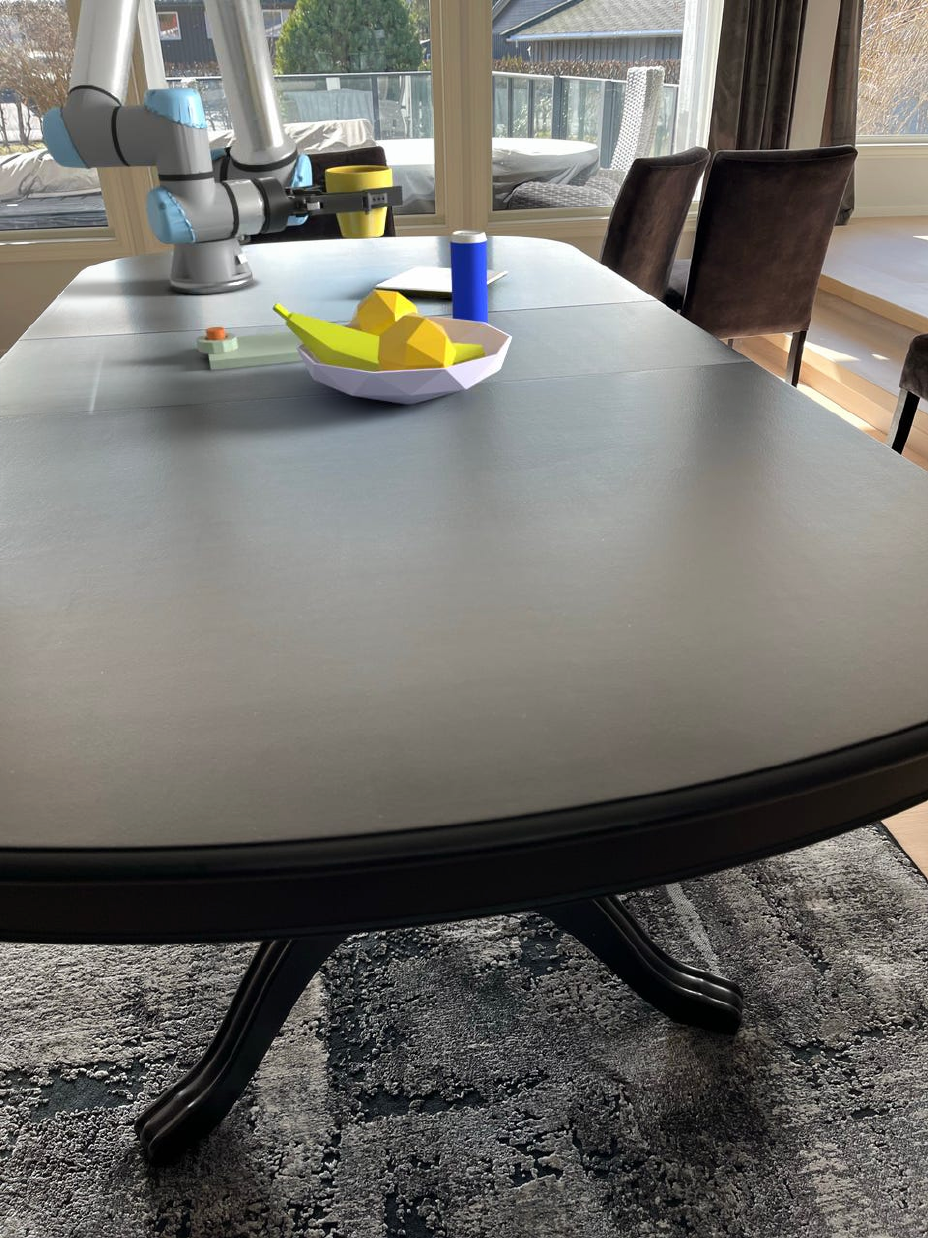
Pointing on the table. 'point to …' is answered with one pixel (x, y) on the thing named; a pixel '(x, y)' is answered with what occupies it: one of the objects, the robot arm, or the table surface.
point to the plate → (428, 282)
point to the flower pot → (353, 181)
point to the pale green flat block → (250, 349)
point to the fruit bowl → (397, 350)
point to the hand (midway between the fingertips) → (382, 192)
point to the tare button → (215, 333)
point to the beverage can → (469, 275)
